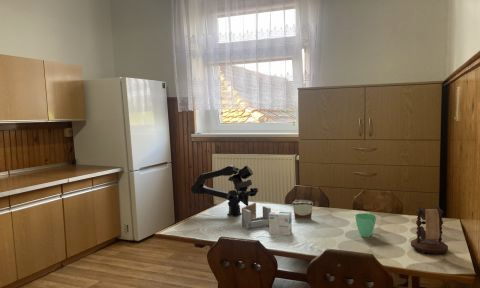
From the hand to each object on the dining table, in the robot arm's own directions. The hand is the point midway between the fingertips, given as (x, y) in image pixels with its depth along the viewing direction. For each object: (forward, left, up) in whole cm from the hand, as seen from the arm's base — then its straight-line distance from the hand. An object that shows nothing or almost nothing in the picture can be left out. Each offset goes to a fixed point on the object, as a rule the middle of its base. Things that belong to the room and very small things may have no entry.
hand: (247, 205), depth 217 cm
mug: (+63, +19, -9) cm, 66 cm away
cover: (+5, -4, -8) cm, 10 cm away
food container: (+22, +24, -9) cm, 33 cm away
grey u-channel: (+12, -6, -9) cm, 16 cm away
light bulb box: (+28, -6, -9) cm, 30 cm away
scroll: (+93, +16, -9) cm, 95 cm away
